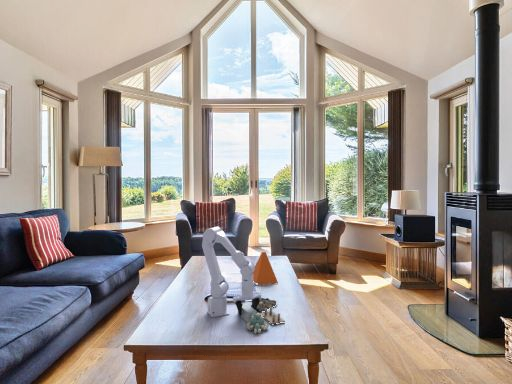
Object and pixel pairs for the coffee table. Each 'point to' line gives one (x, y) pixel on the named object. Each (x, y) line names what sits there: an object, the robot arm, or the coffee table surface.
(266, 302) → the geode
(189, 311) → the coffee table surface
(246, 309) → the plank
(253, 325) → the stuffed animal
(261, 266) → the pyramid
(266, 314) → the peg stand
